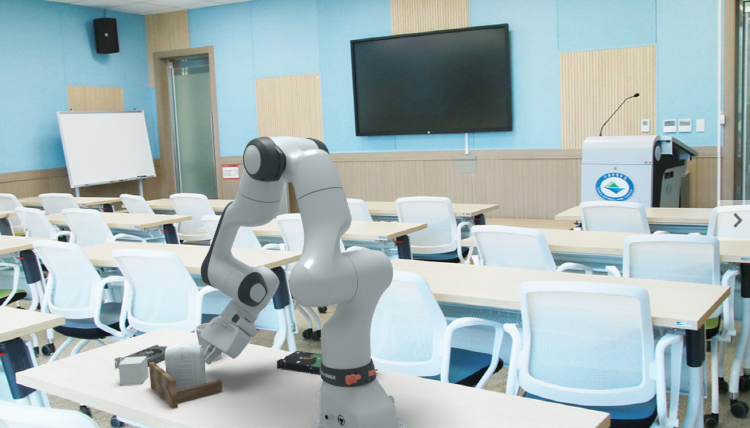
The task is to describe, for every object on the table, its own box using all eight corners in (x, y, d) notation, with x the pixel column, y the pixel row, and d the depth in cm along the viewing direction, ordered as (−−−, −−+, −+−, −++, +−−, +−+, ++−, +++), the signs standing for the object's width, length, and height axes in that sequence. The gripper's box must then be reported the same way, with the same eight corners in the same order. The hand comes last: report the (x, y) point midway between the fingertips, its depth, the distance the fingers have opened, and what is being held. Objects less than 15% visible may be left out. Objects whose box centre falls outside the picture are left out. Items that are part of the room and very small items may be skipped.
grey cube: (127, 378, 188) (125, 357, 188) (148, 376, 189) (146, 356, 188) (120, 385, 182) (118, 364, 182) (142, 384, 183) (140, 363, 182)
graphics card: (144, 362, 191) (113, 357, 196) (144, 375, 192) (114, 370, 197) (184, 346, 206) (155, 341, 211) (185, 358, 207) (155, 353, 212)
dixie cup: (217, 363, 197) (214, 330, 196) (192, 362, 200) (189, 329, 198) (230, 354, 205) (228, 322, 204) (206, 353, 207) (204, 321, 206)
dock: (225, 394, 172) (223, 368, 172) (173, 408, 164) (170, 381, 164) (200, 375, 187) (198, 351, 186) (150, 388, 179) (148, 362, 178)
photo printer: (208, 383, 180) (204, 339, 178) (205, 390, 175) (200, 345, 174) (170, 386, 179) (165, 342, 178) (165, 393, 175) (161, 347, 173)
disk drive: (276, 370, 191) (320, 376, 184) (275, 361, 190) (319, 366, 184) (296, 359, 200) (339, 364, 193) (296, 350, 200) (338, 355, 193)
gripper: (213, 306, 190) (182, 346, 186) (243, 320, 174) (210, 365, 169) (229, 318, 193) (199, 358, 189) (260, 333, 177) (228, 378, 172)
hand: (204, 362), depth 179 cm, fingers closed
